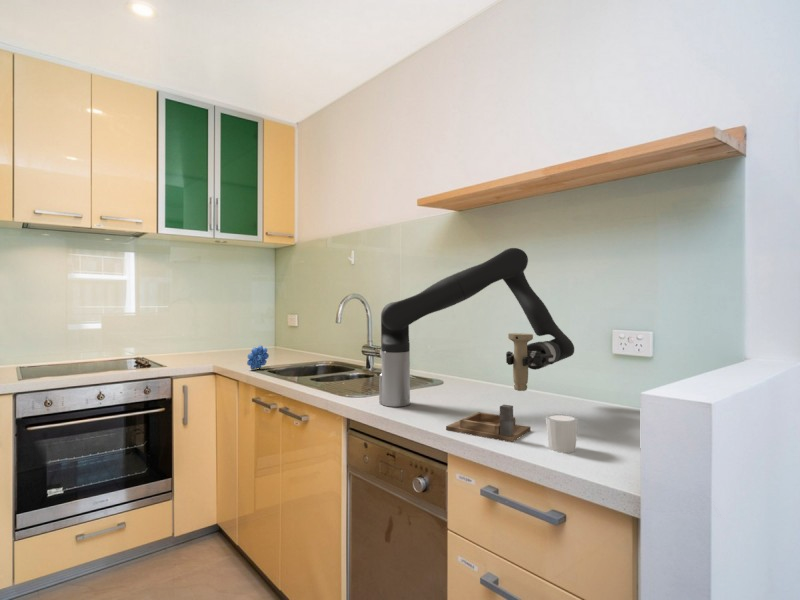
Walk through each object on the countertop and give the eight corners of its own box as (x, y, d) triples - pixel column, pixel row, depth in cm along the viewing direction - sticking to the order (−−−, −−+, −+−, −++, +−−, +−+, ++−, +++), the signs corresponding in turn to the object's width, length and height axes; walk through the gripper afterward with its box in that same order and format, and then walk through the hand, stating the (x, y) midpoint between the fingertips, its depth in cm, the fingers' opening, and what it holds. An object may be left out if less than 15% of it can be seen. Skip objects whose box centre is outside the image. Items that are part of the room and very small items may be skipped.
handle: (513, 387, 127) (513, 333, 127) (535, 390, 123) (535, 334, 123) (505, 390, 123) (505, 334, 123) (528, 393, 119) (528, 335, 119)
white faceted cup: (545, 451, 101) (544, 420, 101) (546, 442, 108) (546, 412, 108) (578, 455, 99) (578, 422, 99) (578, 445, 105) (577, 415, 105)
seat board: (446, 430, 119) (445, 399, 119) (467, 420, 129) (467, 391, 129) (512, 442, 108) (511, 408, 108) (530, 430, 118) (530, 399, 118)
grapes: (264, 367, 236) (264, 344, 236) (271, 368, 232) (271, 345, 232) (243, 370, 228) (242, 345, 228) (249, 371, 223) (249, 346, 223)
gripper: (515, 340, 138) (491, 345, 124) (563, 343, 130) (543, 348, 116) (515, 365, 138) (491, 373, 124) (563, 369, 130) (543, 378, 116)
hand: (516, 361), depth 120 cm, fingers closed on handle, 3 cm apart
